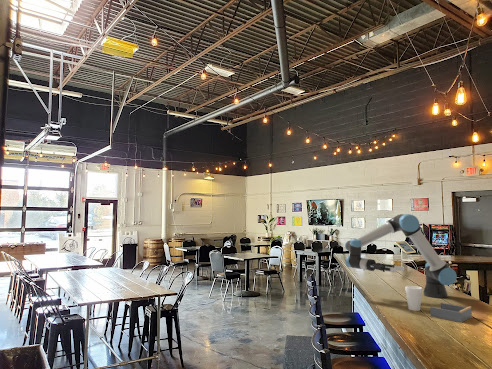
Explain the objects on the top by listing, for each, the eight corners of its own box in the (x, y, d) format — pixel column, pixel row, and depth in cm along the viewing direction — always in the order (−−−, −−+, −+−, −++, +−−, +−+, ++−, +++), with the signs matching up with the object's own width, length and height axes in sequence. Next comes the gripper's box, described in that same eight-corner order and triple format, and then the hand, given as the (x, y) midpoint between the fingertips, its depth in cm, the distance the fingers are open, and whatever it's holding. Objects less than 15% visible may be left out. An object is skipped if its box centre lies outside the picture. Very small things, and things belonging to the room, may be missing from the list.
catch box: (441, 311, 214) (441, 301, 214) (471, 317, 202) (471, 306, 202) (430, 316, 203) (429, 305, 204) (461, 322, 191) (461, 311, 192)
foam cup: (413, 311, 212) (412, 289, 213) (402, 307, 221) (401, 286, 222) (426, 310, 215) (425, 288, 216) (415, 306, 224) (414, 285, 225)
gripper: (376, 269, 250) (407, 274, 235) (359, 271, 232) (391, 277, 217) (376, 258, 250) (408, 262, 235) (359, 259, 233) (392, 264, 218)
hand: (400, 269), depth 226 cm, fingers open, 13 cm apart
